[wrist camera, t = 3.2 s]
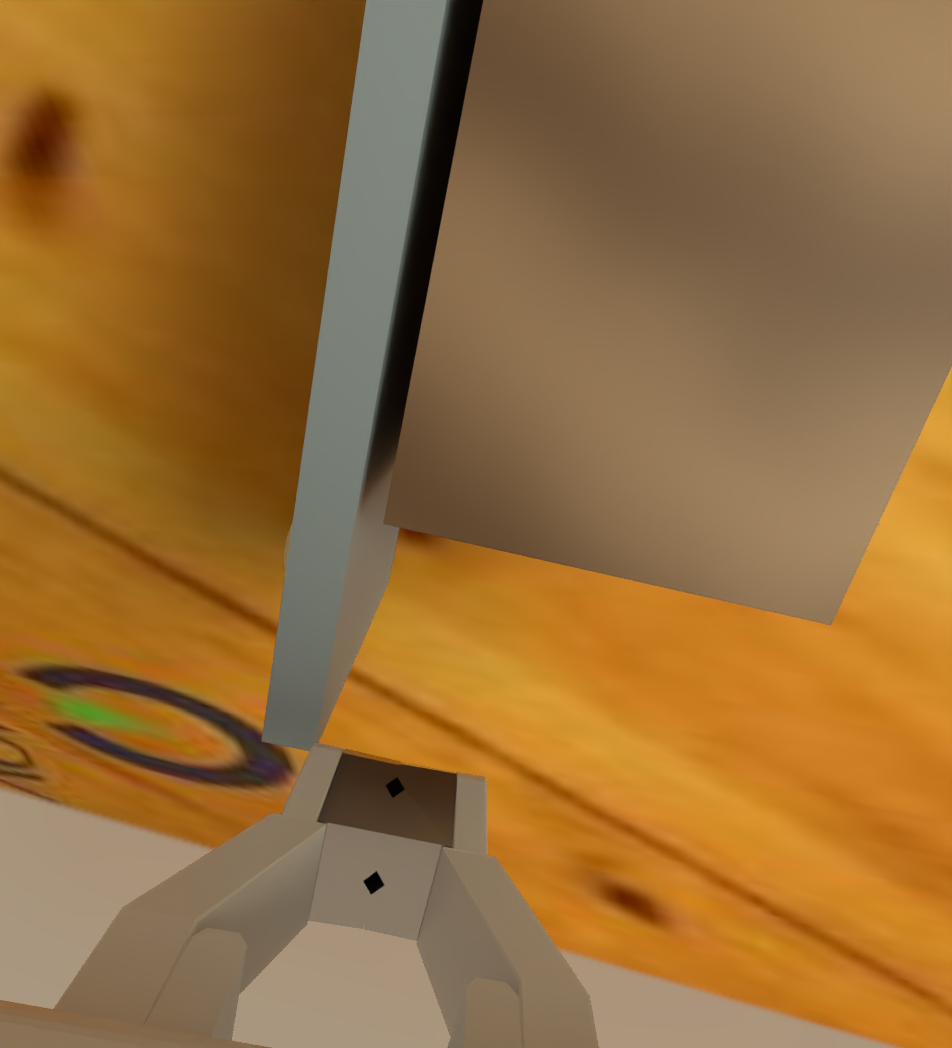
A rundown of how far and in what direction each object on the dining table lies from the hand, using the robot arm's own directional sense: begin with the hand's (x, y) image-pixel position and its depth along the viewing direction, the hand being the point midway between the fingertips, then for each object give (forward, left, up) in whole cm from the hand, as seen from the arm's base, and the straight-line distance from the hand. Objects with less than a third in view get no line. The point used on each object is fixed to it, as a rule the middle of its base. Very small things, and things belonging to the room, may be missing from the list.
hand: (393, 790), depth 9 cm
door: (-8, -3, -12) cm, 15 cm away
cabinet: (-11, +3, -13) cm, 17 cm away
